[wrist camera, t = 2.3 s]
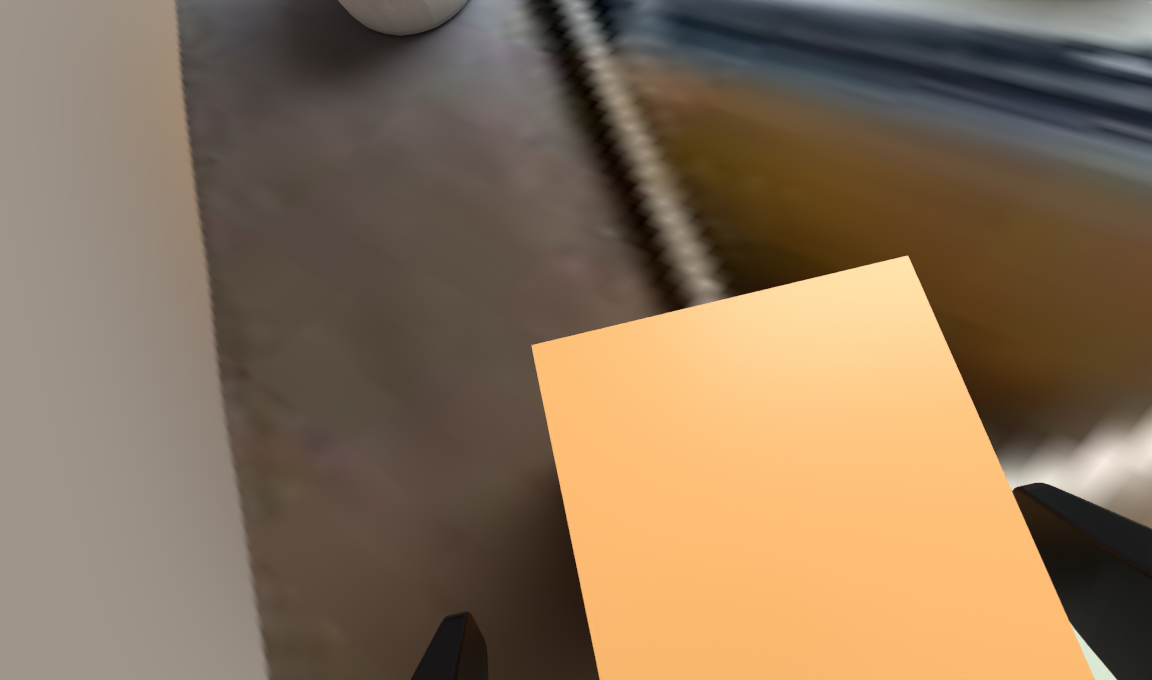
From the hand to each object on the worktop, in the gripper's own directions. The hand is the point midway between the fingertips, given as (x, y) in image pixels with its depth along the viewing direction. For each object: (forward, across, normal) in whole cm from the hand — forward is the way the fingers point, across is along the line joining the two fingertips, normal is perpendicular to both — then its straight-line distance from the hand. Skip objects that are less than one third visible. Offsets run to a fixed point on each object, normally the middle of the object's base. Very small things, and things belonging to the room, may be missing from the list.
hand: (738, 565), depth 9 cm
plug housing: (+7, 0, +6) cm, 9 cm away
